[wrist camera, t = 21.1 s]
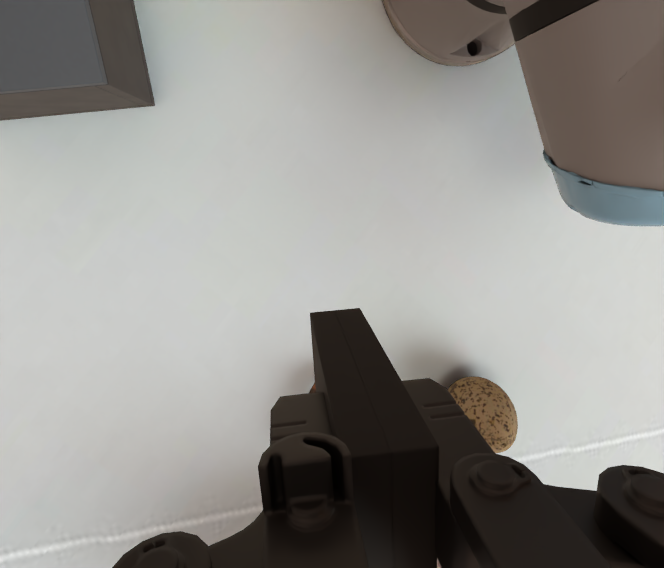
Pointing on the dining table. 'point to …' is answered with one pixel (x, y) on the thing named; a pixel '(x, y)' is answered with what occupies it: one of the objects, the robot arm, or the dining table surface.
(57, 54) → the dark grey box lid
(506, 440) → the decorative egg
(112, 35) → the dark grey box
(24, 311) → the dining table surface
